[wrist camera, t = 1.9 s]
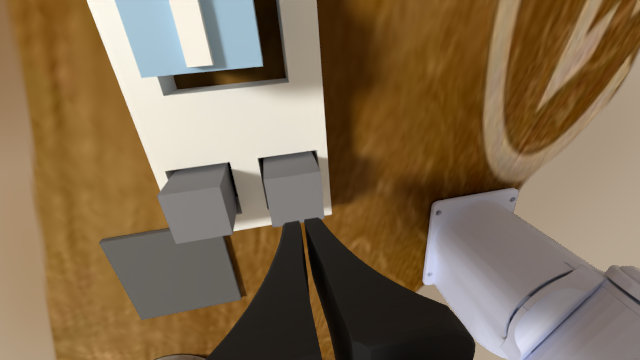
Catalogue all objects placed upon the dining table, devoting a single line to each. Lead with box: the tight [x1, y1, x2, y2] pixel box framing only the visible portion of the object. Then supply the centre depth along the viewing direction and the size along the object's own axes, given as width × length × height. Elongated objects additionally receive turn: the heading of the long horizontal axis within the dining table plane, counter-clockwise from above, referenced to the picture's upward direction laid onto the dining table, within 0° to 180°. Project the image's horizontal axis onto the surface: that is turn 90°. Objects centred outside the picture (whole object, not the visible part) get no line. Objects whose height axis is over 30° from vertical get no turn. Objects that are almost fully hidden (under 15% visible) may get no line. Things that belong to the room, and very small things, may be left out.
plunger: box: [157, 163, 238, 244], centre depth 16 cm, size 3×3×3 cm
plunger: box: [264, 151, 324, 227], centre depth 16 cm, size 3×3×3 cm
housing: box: [87, 0, 332, 231], centre depth 16 cm, size 16×10×2 cm, turn 5°
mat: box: [99, 228, 241, 320], centre depth 21 cm, size 8×8×1 cm
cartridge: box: [115, 0, 263, 78], centre depth 12 cm, size 4×4×8 cm
